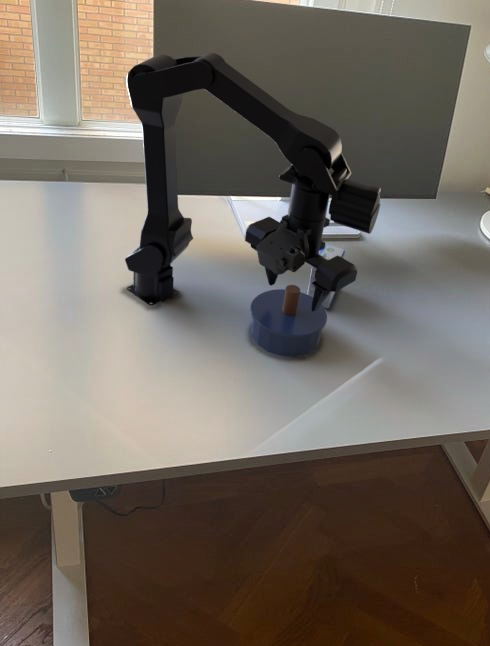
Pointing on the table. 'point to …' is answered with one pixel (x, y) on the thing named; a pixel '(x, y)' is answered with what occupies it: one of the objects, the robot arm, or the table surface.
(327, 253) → the medicine box
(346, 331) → the table surface
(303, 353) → the dark blue round container
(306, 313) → the cover
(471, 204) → the table surface
